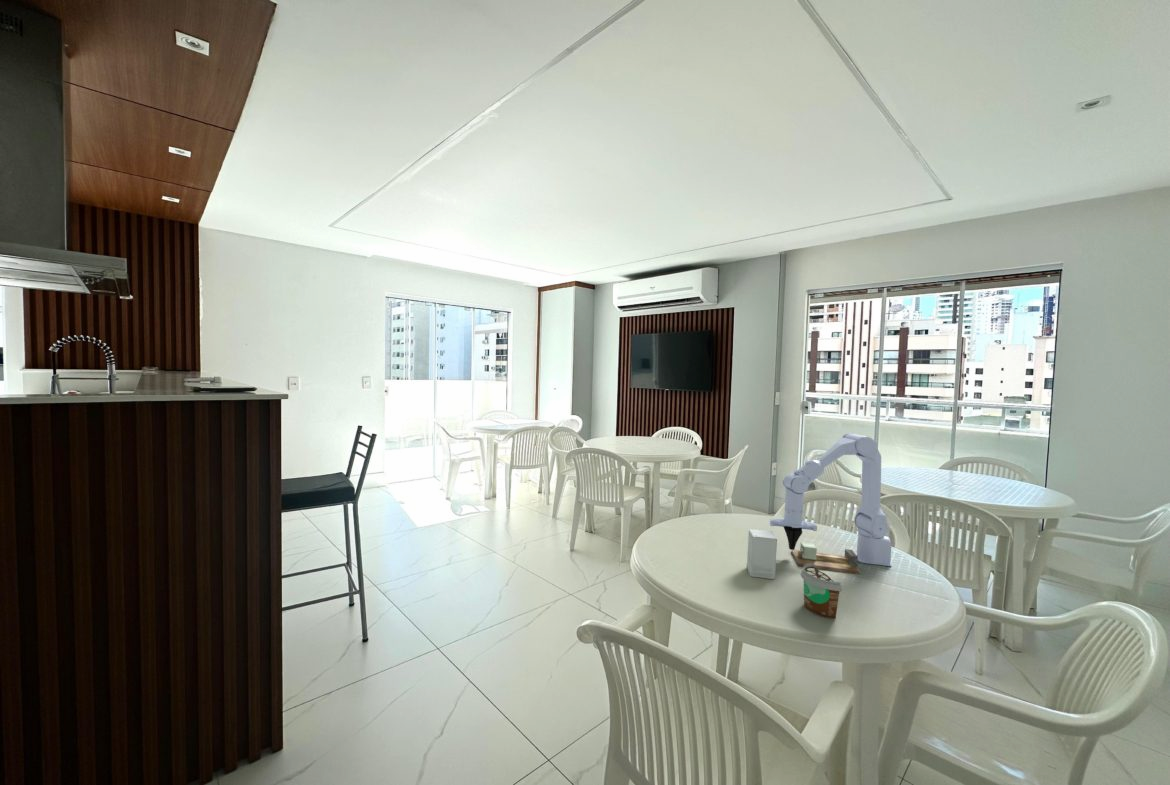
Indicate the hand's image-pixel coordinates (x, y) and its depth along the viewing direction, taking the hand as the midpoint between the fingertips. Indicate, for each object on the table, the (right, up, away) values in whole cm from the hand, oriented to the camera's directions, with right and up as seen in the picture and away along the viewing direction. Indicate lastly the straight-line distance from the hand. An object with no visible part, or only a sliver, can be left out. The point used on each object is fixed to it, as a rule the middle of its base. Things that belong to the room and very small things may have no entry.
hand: (791, 548), depth 153 cm
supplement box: (-16, -4, -12) cm, 20 cm away
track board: (+10, -4, -2) cm, 11 cm away
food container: (-10, -5, -34) cm, 35 cm away
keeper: (+5, -2, -1) cm, 6 cm away
